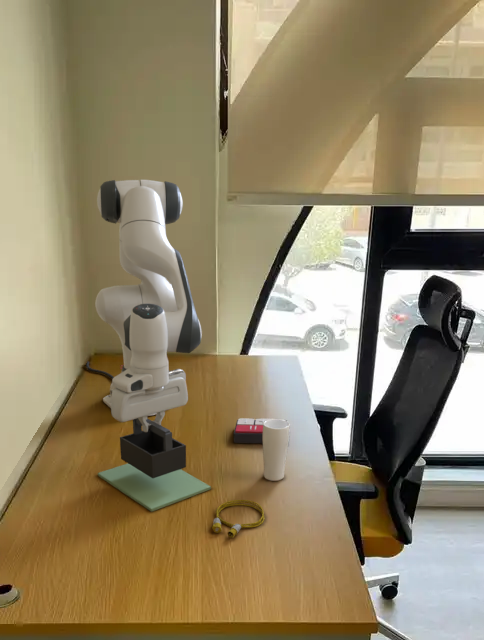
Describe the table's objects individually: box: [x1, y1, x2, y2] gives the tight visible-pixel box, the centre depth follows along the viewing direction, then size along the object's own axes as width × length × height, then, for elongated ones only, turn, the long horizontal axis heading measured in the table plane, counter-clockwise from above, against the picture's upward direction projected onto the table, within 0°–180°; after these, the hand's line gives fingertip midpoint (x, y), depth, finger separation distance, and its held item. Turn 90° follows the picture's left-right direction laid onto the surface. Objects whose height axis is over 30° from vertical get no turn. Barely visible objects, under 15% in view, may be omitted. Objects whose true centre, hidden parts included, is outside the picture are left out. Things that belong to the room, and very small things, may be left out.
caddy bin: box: [119, 418, 187, 478], centre depth 170 cm, size 14×10×11 cm
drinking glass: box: [262, 418, 291, 482], centre depth 176 cm, size 7×7×15 cm
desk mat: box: [97, 463, 212, 513], centre depth 174 cm, size 24×18×1 cm
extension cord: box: [211, 499, 265, 538], centre depth 159 cm, size 12×16×2 cm
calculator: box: [233, 417, 288, 444], centre depth 201 cm, size 11×4×15 cm
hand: (151, 429), depth 168 cm, fingers closed on caddy bin
